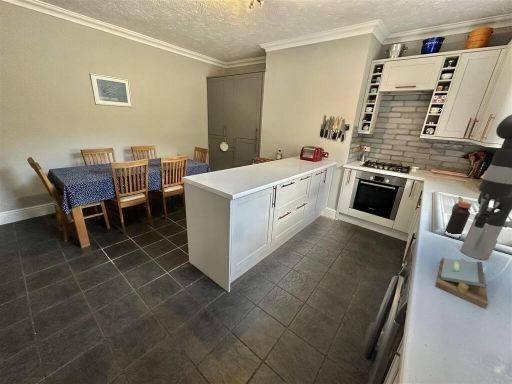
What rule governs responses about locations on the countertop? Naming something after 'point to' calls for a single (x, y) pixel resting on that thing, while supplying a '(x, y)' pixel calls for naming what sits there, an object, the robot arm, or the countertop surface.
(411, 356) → the countertop surface
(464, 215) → the bottle
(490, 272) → the countertop surface
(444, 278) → the level plate
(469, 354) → the countertop surface
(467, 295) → the base
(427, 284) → the countertop surface
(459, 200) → the vegetable
